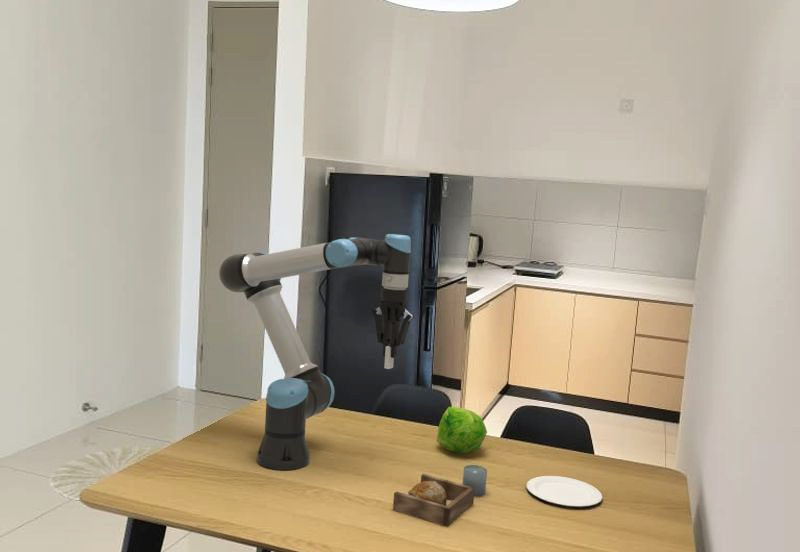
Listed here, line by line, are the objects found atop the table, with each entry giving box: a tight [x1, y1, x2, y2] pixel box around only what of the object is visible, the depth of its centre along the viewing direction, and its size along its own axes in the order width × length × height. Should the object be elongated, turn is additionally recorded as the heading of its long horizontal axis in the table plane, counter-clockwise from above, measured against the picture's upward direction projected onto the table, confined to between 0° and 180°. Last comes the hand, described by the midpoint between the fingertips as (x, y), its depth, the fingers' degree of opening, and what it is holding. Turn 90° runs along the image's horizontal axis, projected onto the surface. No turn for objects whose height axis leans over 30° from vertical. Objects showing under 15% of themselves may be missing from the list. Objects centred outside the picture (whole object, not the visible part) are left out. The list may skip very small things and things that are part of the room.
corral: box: [392, 473, 475, 527], centre depth 185 cm, size 15×16×4 cm
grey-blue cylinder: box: [462, 464, 488, 498], centre depth 197 cm, size 6×6×6 cm
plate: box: [526, 475, 603, 508], centre depth 200 cm, size 21×21×2 cm
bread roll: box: [407, 481, 448, 506], centre depth 186 cm, size 10×10×8 cm
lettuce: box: [436, 406, 488, 455], centre depth 230 cm, size 15×20×14 cm
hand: (388, 367), depth 209 cm, fingers closed
